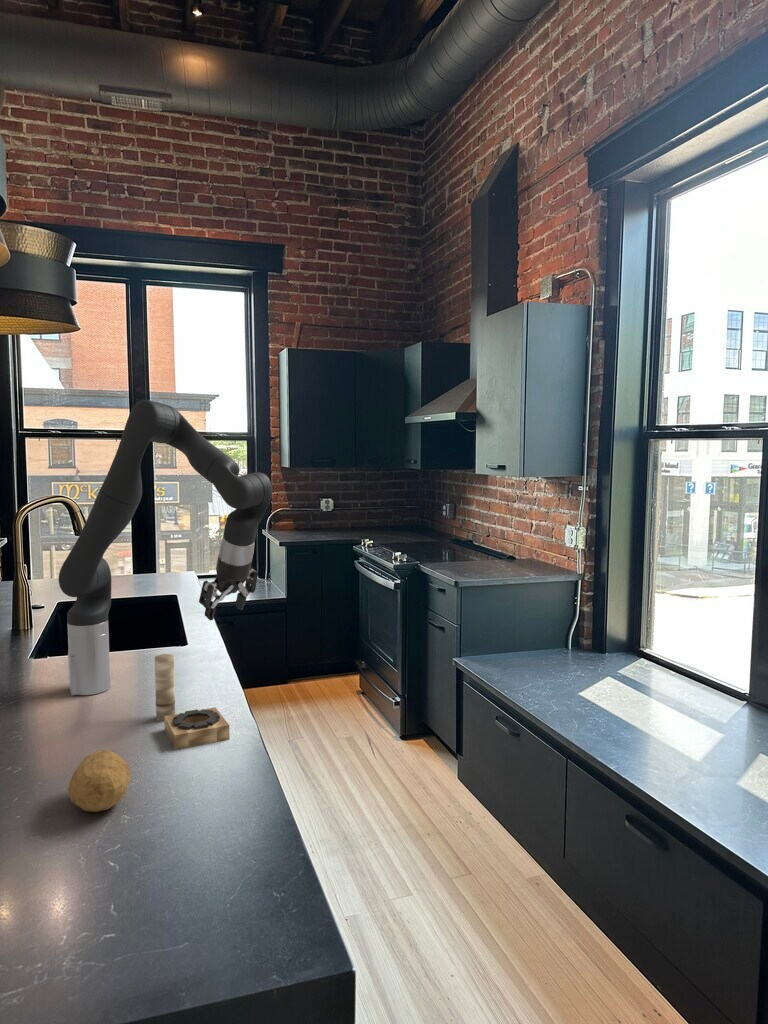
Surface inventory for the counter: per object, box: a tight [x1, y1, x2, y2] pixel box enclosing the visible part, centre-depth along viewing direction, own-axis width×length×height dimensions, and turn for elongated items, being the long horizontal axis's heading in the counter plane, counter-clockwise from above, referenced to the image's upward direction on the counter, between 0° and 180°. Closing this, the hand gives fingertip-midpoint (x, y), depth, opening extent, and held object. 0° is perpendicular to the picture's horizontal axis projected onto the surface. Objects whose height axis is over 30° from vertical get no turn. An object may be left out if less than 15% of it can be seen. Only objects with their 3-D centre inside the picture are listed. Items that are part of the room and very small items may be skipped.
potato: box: [67, 749, 132, 813], centre depth 118 cm, size 10×14×8 cm
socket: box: [163, 707, 230, 750], centre depth 147 cm, size 11×11×4 cm
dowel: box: [154, 653, 176, 722], centre depth 155 cm, size 4×4×14 cm
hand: (224, 613), depth 164 cm, fingers open, 8 cm apart
